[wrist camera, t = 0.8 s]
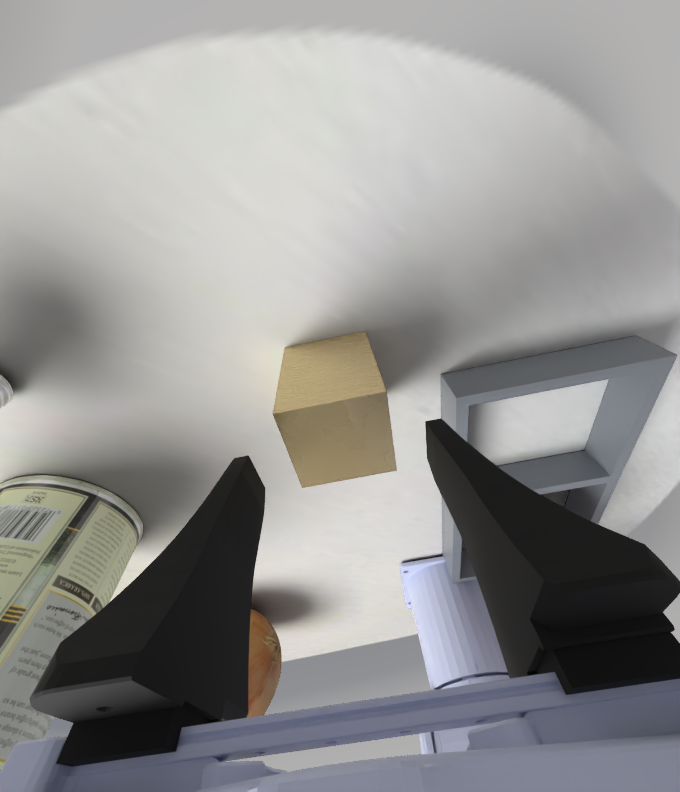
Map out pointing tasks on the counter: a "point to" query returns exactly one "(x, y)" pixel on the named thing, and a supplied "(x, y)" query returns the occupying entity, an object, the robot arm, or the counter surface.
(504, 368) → the grey divided tray
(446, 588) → the robot arm
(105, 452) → the counter surface
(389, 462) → the wooden block
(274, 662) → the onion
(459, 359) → the counter surface
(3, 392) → the lightbulb
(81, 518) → the coffee can
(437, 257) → the counter surface
